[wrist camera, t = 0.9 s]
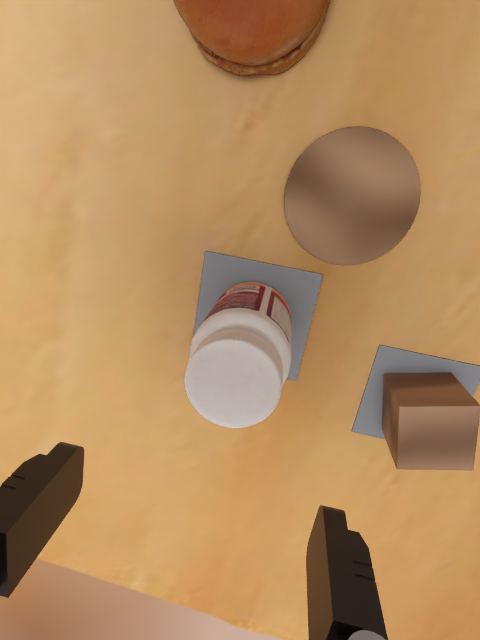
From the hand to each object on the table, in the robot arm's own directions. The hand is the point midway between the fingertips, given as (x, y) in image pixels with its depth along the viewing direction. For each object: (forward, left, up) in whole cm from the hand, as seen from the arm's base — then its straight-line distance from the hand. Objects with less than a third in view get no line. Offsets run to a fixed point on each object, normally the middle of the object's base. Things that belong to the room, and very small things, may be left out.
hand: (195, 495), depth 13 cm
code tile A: (0, 0, -19) cm, 19 cm away
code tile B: (+4, +14, -19) cm, 24 cm away
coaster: (-10, +5, -19) cm, 22 cm away
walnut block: (+4, +14, -19) cm, 24 cm away
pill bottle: (0, 0, -19) cm, 19 cm away
